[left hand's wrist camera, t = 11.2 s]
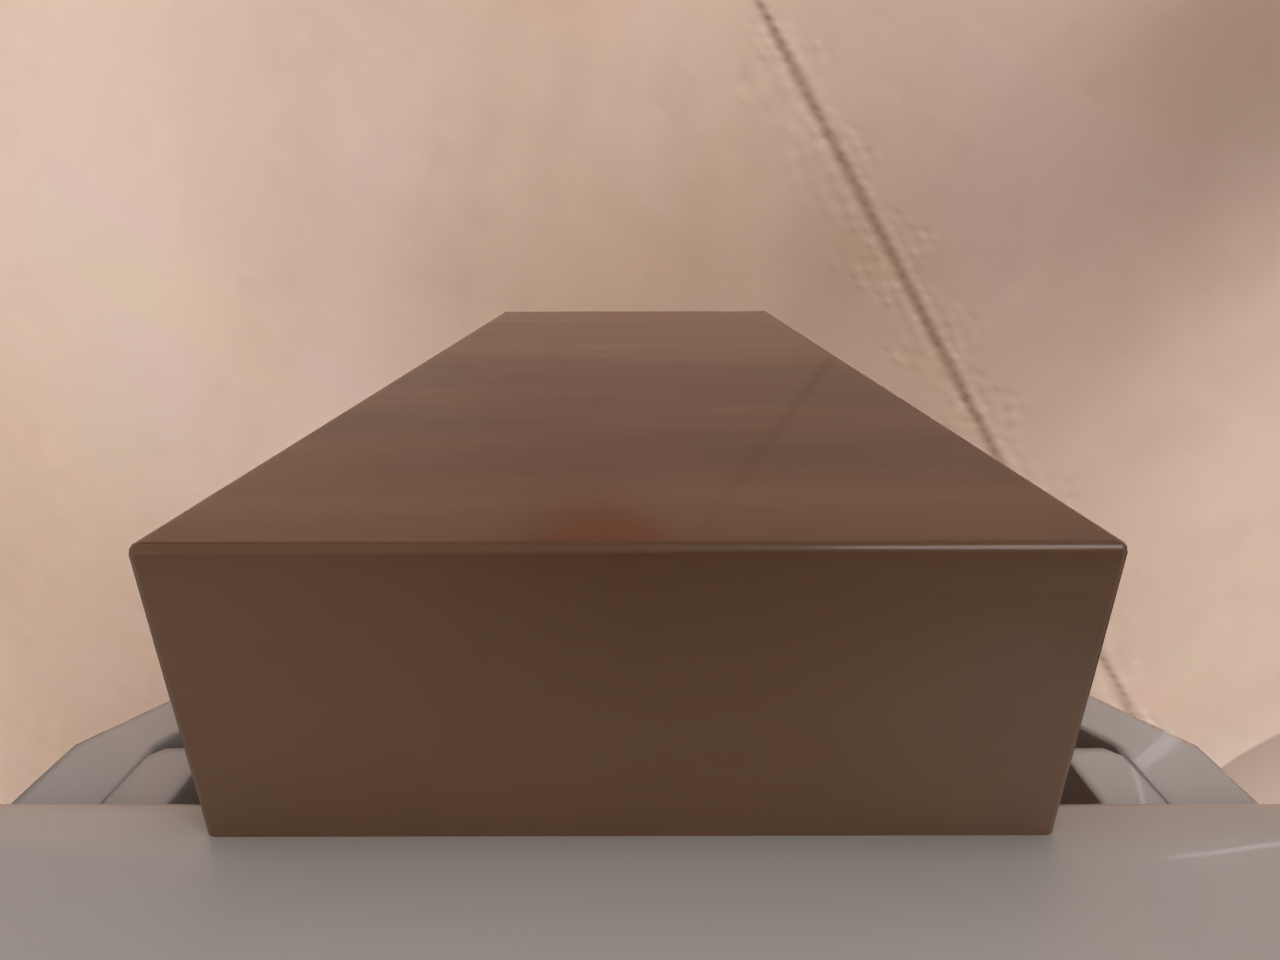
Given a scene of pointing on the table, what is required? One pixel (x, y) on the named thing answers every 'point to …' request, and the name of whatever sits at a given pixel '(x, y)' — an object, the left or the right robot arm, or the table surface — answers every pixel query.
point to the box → (629, 603)
